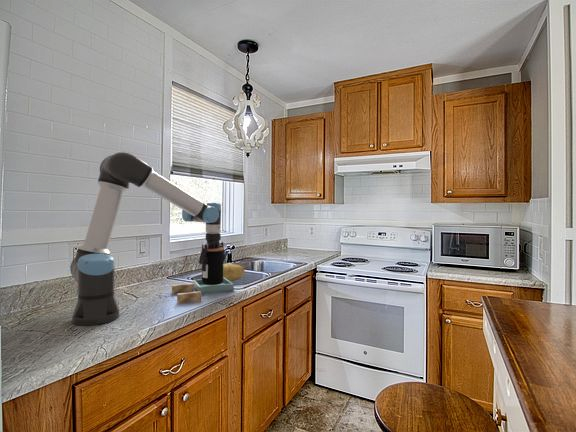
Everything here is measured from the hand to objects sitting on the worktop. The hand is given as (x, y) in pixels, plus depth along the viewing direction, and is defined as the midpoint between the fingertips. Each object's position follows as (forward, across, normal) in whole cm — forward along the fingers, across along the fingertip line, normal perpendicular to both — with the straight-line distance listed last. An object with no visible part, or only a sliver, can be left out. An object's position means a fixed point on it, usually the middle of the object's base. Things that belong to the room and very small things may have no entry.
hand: (212, 275), depth 166 cm
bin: (+7, 0, 0) cm, 7 cm away
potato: (+7, +20, +3) cm, 21 cm away
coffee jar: (+4, 0, 0) cm, 4 cm away
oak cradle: (+7, -18, 0) cm, 19 cm away
